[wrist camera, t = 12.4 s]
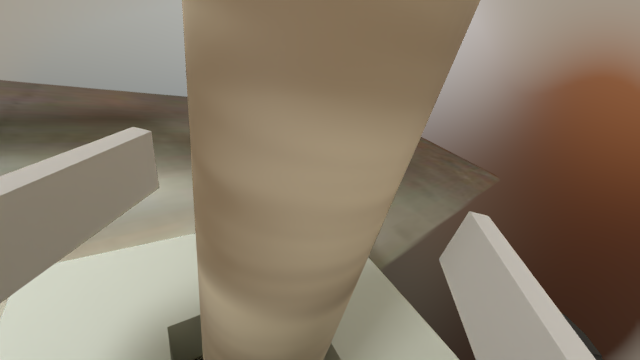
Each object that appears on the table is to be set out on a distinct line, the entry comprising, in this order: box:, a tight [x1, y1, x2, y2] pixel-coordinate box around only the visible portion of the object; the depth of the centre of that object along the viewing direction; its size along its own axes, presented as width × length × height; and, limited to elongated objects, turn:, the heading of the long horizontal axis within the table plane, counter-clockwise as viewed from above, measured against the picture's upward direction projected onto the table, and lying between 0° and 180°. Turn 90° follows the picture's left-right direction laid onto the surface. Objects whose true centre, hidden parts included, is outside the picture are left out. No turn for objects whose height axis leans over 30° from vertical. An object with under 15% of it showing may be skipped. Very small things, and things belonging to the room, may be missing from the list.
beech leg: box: [182, 0, 480, 360], centre depth 8 cm, size 5×5×18 cm
